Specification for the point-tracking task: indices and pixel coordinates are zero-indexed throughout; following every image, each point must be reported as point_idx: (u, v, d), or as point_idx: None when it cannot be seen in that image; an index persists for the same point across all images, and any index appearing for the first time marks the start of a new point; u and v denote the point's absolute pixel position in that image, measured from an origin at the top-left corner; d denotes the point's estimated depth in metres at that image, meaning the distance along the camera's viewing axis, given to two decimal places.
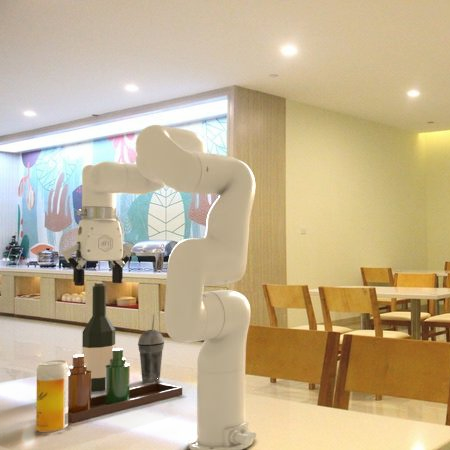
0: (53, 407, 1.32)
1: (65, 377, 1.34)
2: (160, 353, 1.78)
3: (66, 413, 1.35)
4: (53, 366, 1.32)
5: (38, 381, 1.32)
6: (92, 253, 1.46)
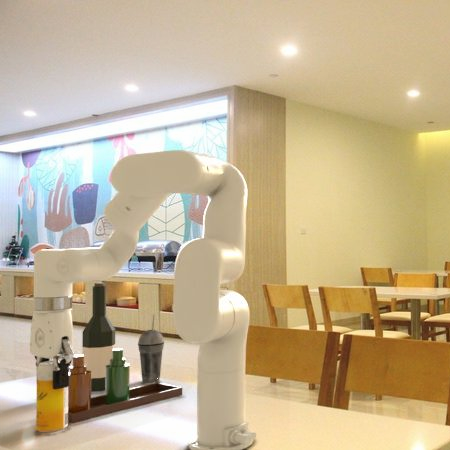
0: (53, 407, 1.32)
1: None
2: (160, 353, 1.78)
3: (66, 413, 1.35)
4: (53, 366, 1.32)
5: (38, 381, 1.32)
6: (32, 347, 1.34)
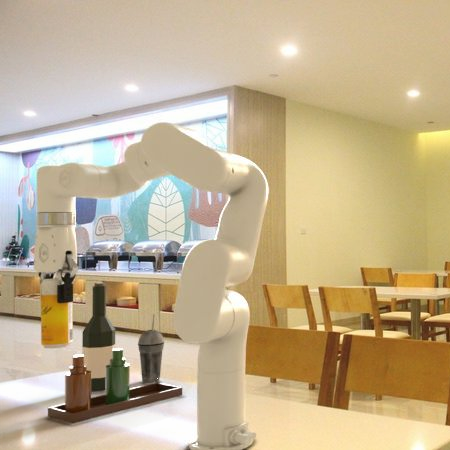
0: (58, 321, 1.33)
1: None
2: (160, 353, 1.78)
3: (71, 329, 1.35)
4: (57, 281, 1.33)
5: (42, 296, 1.33)
6: (36, 264, 1.35)
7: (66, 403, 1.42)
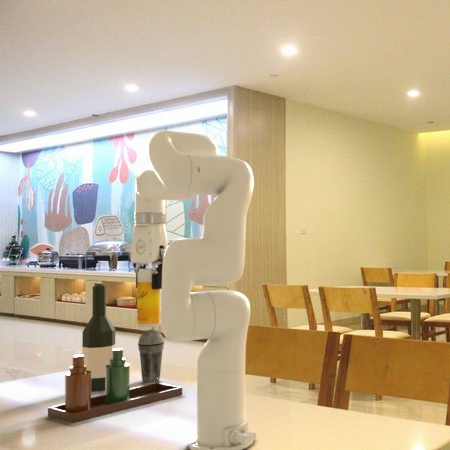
0: (152, 304, 1.58)
1: None
2: (160, 353, 1.78)
3: None
4: (151, 270, 1.58)
5: (139, 283, 1.58)
6: (133, 256, 1.60)
7: (66, 403, 1.42)
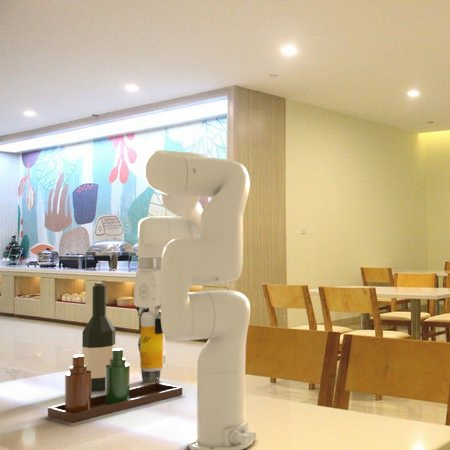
0: (155, 349, 1.59)
1: None
2: None
3: (164, 355, 1.61)
4: (155, 315, 1.59)
5: (142, 327, 1.59)
6: (136, 300, 1.61)
7: (66, 403, 1.42)
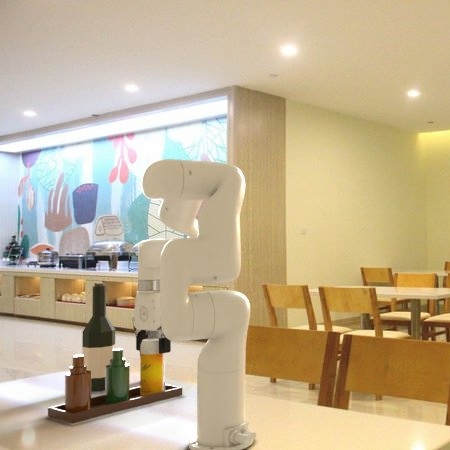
0: (155, 376, 1.59)
1: None
2: None
3: (164, 382, 1.61)
4: (154, 342, 1.59)
5: (142, 355, 1.59)
6: (136, 322, 1.61)
7: (66, 403, 1.42)
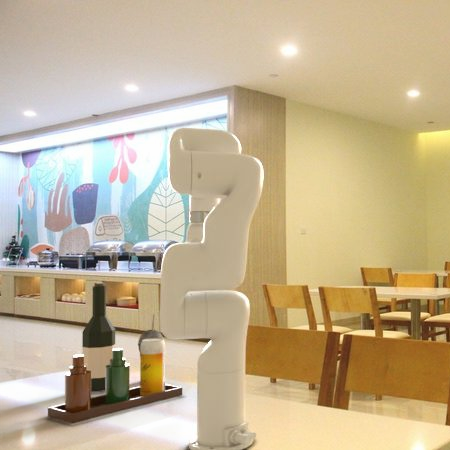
0: (155, 376, 1.59)
1: (163, 352, 1.61)
2: None
3: (164, 382, 1.61)
4: (154, 342, 1.59)
5: (142, 355, 1.59)
6: None
7: (66, 403, 1.42)
